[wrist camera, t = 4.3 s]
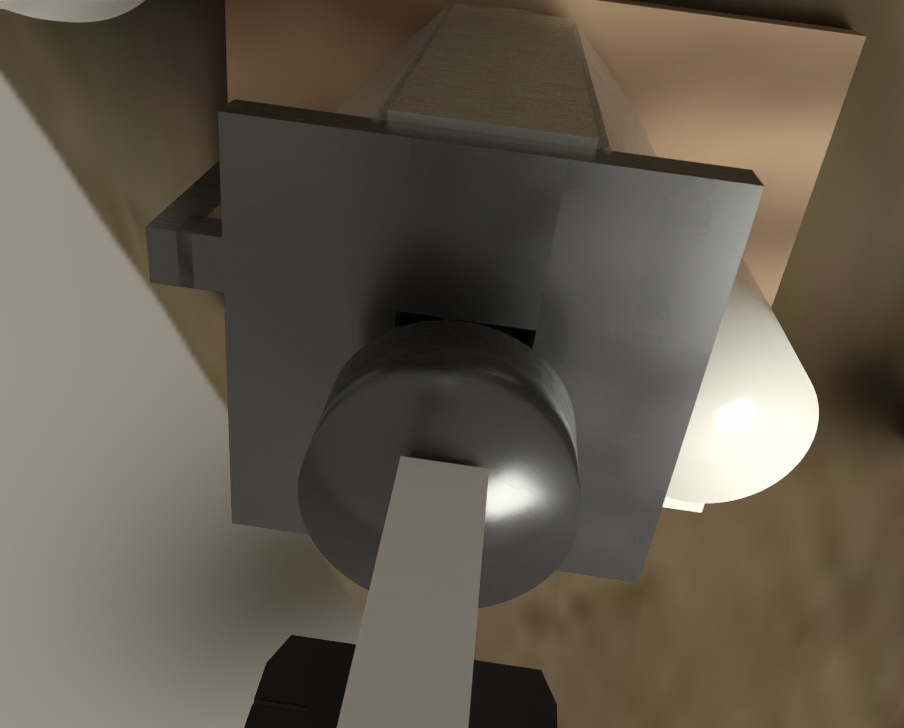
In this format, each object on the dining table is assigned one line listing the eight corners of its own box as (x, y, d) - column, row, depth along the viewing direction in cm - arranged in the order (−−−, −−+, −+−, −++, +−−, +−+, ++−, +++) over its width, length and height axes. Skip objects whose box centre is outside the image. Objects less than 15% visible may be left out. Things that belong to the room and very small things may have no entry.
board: (236, -53, 32) (223, -50, 31) (852, 29, 32) (866, 36, 30) (243, 311, 40) (234, 325, 39) (733, 380, 40) (739, 397, 39)
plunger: (381, 47, 28) (190, 257, 12) (629, 80, 28) (745, 335, 12) (366, 273, 32) (211, 636, 17) (581, 304, 32) (622, 697, 17)
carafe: (286, -24, 31) (40, 76, 16) (656, 26, 31) (778, 176, 15) (284, 242, 37) (101, 509, 21) (598, 286, 36) (644, 588, 21)
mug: (614, 225, 35) (636, 324, 27) (779, 247, 35) (849, 353, 27) (576, 394, 39) (585, 520, 32) (722, 414, 39) (768, 547, 31)
